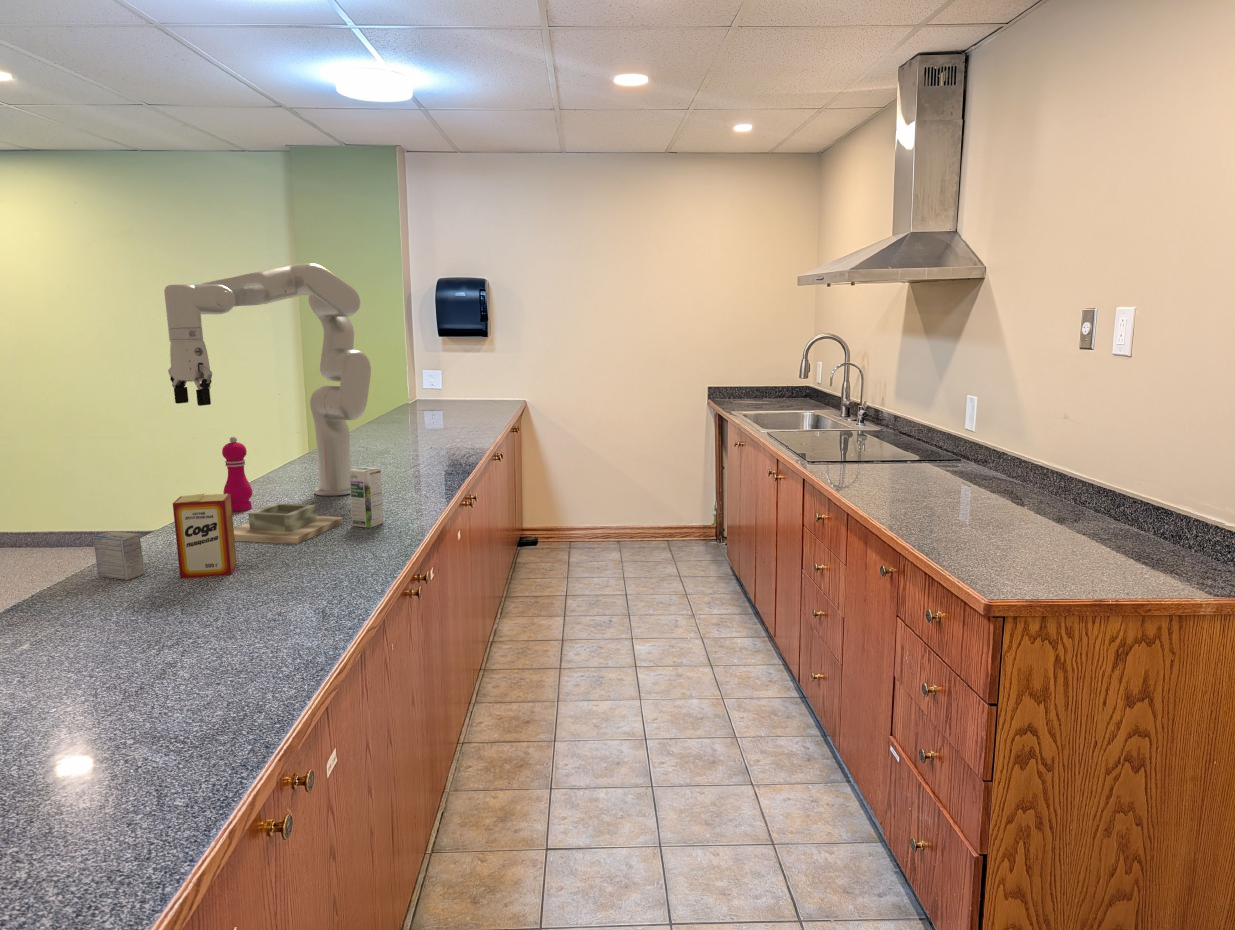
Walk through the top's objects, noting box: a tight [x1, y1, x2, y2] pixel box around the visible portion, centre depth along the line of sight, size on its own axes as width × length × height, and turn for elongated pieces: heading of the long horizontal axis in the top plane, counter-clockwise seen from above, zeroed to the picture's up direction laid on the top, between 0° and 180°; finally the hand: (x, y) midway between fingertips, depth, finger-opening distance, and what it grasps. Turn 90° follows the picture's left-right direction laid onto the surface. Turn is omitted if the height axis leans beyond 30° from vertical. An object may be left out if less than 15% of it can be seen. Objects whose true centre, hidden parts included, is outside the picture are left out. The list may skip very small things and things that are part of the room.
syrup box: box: [349, 466, 384, 529], centre depth 209 cm, size 6×6×14 cm
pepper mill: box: [221, 436, 253, 512], centre depth 226 cm, size 7×7×20 cm
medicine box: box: [92, 530, 145, 581], centre depth 170 cm, size 8×4×9 cm, turn 71°
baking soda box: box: [172, 493, 238, 580], centre depth 171 cm, size 10×6×16 cm
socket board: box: [233, 502, 344, 545], centre depth 204 cm, size 20×20×6 cm
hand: (193, 404), depth 210 cm, fingers open, 9 cm apart
